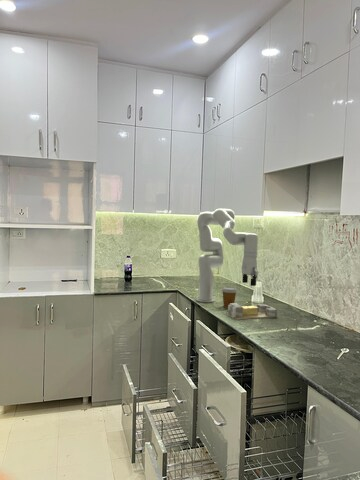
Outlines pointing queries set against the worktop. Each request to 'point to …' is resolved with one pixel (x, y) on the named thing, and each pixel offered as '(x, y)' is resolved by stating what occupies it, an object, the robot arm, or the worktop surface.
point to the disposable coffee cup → (228, 295)
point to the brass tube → (250, 310)
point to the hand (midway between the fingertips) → (249, 284)
